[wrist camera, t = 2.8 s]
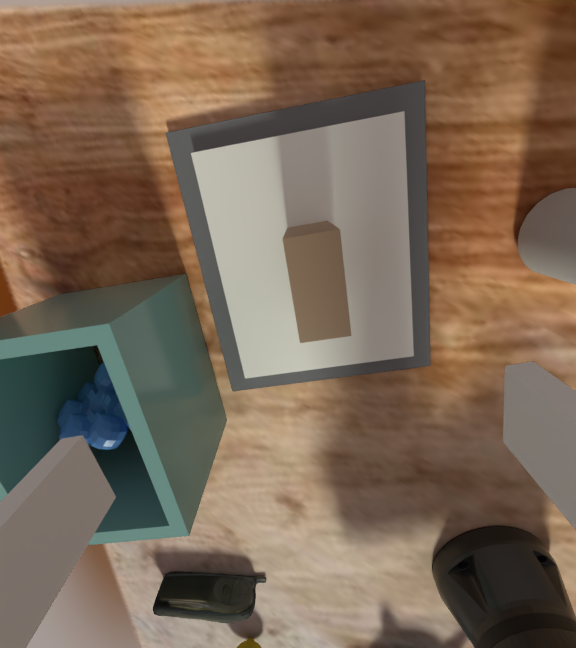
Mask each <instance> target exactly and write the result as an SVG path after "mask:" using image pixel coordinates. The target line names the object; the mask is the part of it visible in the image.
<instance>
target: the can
mask: <svg viewBox="0 0 576 648" xmlns="http://www.w3.org/2000/svg"><path fill="white" fill-rule="evenodd" d="M518 250H519V255H520V257H521V259H522V261H523V262H524V264H525V265H526V266H527V267H528V268H530V269H531V270H532V271H533V272H536V273H539V274H543V275H546V276H549V277H552V278H556V279H559V280H562V281H566V282H569V283H572V284H576V188H566V189H563V190H560V191H557V192H554V193H552V194H550V195H549V196H547V197H546V198H544V199H543V200H541V201H540V202H538V203H537V204H536V205H535V207H534V208H533V209H532V210H531V211H530V212H529V213H528V214H527V216H526V218H525V220H524V222H523V224H522V226H521V227H520V232H519V237H518Z"/></svg>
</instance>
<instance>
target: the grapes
mask: <svg viewBox="0 0 576 648" xmlns="http://www.w3.org/2000/svg"><path fill="white" fill-rule="evenodd" d="M94 382H95V383H87V382H86V383H85V384H84V385H83V387H82V388H81V390H80V391H79V393H78V395H77V400H67V401H66V402H65V404H64V405H63V406H62V408H61V410H60V412H59V414H58V416H57V424H58V425H59V427H60V428H61V429H60V434H59V439H60V440H61V439H63V438H69V437H75V436H81V435H83V437H84V438H85V440H86V442H87V444H88V446H89V445H90V444H91V446H93V447H95V448H98V449H106V450H110V449H116V448H117V447H118V446H119V445H120V444H121V442H122V441H123V440H124V438H125V435H126V433H127V427H129V429H130V430H131V428H130V426H129V423H128V421H127V418H126V416H125V413H124V411H123V408H122V406H121V403H120V401H119V398H118V396H117V393H116V391H115V388H114V386H113V383H112V381H111V378H110V376H109V373H108V371H107V368H106V366H105V363H104V361H103V363H102V364H101V365H100V367H99V368H98V370H97V372H96V374H95V377H94Z"/></svg>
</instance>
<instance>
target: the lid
mask: <svg viewBox="0 0 576 648" xmlns="http://www.w3.org/2000/svg"><path fill="white" fill-rule="evenodd" d="M191 156H192V160H193V164H194V168H195V172H196V176H197V181H198V185H199V189H200V193H201V197H202V201H203V206H204V210H205V214H206V218H207V222H208V226H209V231H210V235H211V239H212V243H213V247H214V251H215V256H216V260H217V264H218V268H219V272H220V276H221V281H222V285H223V289H224V293H225V297H226V301H227V306H228V310H229V314H230V318H231V322H232V326H233V331H234V335H235V339H236V343H237V347H238V351H239V355H240V360H241V364H242V368H243V372H244V376H245V378H253V377H261V376H268V375H276V374H283V373H291V372H298V371H306V370H313V369H321V368H329V367H336V366H344V365H351V364H359V363H366V362H374V361H382V360H389V359H397V358H404V357H412V356H414V348H413V322H412V296H411V270H410V244H409V218H408V192H407V166H406V140H405V114H404V111H403V112H397V113H392V114H387V115H382V116H377V117H372V118H367V119H362V120H357V121H352V122H346V123H341V124H336V125H331V126H326V127H321V128H316V129H311V130H306V131H300V132H295V133H290V134H285V135H280V136H275V137H270V138H265V139H260V140H255V141H249V142H244V143H239V144H234V145H229V146H224V147H219V148H214V149H209V150H203V151H198V152H193V153H191Z"/></svg>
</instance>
